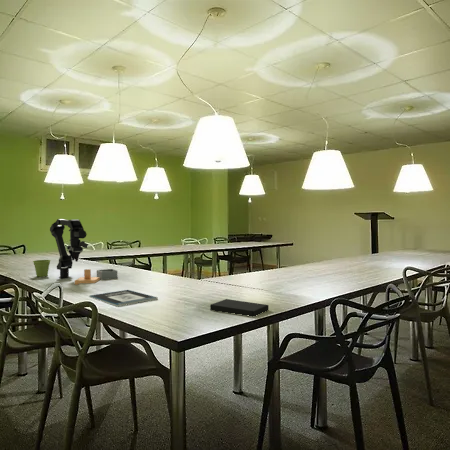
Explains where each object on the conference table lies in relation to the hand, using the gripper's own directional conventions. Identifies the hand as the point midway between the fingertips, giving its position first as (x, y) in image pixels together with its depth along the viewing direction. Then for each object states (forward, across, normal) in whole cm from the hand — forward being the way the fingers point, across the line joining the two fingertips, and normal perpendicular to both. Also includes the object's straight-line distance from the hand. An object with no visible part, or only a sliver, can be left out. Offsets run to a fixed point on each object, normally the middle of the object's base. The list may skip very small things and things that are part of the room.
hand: (75, 260), depth 265 cm
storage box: (+13, -9, -19) cm, 25 cm away
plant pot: (+13, +30, +16) cm, 36 cm away
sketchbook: (+14, -75, -7) cm, 77 cm away
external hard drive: (+14, -131, -43) cm, 139 cm away
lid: (+13, -16, -4) cm, 21 cm away
